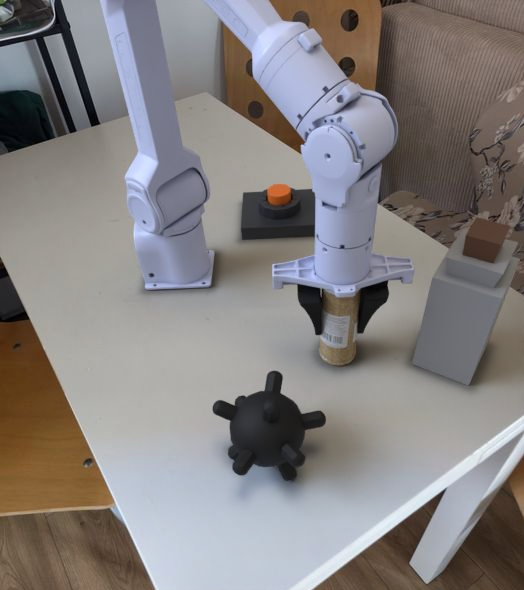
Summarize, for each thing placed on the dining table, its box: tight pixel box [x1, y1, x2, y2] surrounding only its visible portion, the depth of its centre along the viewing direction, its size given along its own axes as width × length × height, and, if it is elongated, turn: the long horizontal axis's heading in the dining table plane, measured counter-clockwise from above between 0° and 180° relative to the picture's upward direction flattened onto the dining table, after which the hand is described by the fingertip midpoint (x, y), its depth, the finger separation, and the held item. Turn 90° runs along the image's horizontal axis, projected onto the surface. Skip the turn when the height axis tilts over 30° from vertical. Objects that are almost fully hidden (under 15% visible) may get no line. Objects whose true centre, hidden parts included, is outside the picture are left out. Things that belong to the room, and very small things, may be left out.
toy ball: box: [212, 370, 327, 482], centre depth 52 cm, size 11×11×12 cm
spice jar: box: [318, 288, 361, 367], centre depth 59 cm, size 5×5×13 cm
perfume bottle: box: [411, 216, 521, 386], centre depth 56 cm, size 7×7×18 cm
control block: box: [240, 187, 316, 241], centre depth 82 cm, size 12×10×4 cm
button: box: [267, 183, 291, 205], centre depth 80 cm, size 4×4×2 cm
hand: (338, 328), depth 60 cm, fingers closed on spice jar, 4 cm apart
